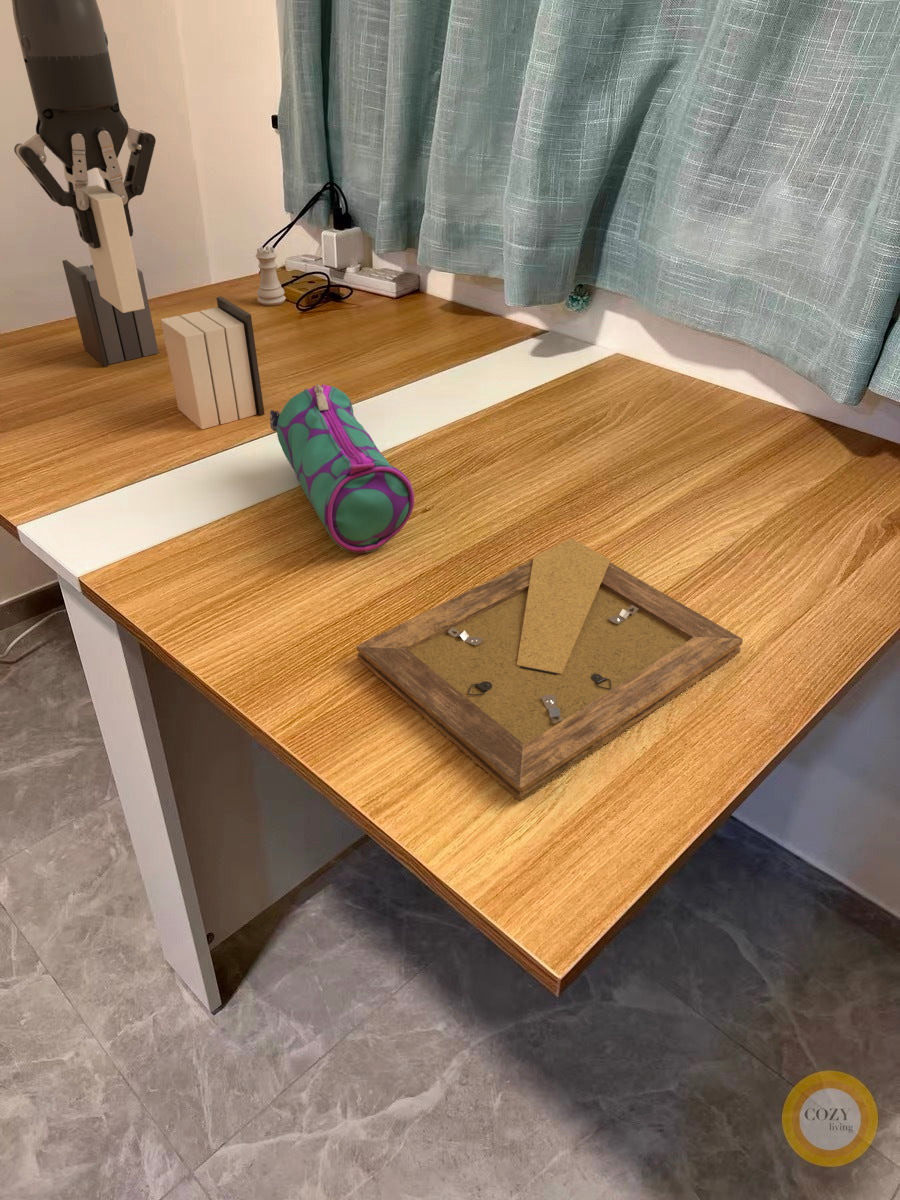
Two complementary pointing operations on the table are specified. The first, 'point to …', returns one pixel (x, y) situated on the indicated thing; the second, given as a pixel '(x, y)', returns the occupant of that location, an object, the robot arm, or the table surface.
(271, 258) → the rook chess piece
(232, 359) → the white books
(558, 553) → the picture frame
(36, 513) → the table surface
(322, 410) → the pencil case
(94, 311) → the grey books
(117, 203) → the white book
